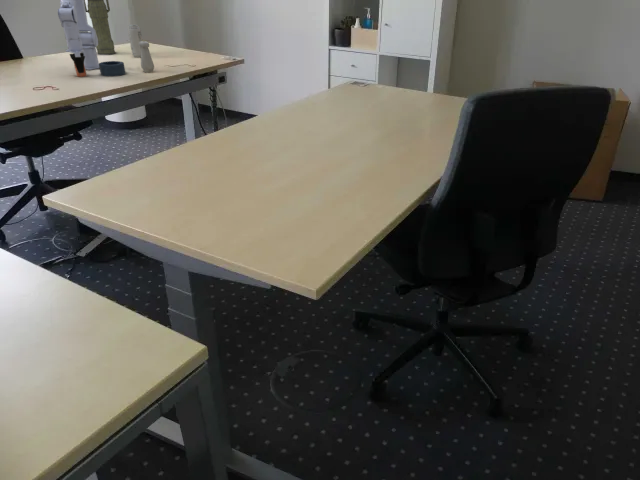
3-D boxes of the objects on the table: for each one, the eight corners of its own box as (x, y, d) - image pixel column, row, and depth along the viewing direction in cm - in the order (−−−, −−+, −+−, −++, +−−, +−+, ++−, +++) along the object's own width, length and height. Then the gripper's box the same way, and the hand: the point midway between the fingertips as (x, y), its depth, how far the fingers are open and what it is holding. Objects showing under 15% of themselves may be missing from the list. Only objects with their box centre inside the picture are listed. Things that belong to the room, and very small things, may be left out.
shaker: (74, 76, 236) (70, 59, 233) (82, 74, 239) (79, 58, 236) (80, 77, 235) (76, 60, 231) (88, 75, 238) (85, 59, 234)
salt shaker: (152, 73, 246) (147, 42, 240) (140, 72, 246) (134, 42, 240) (156, 70, 251) (152, 40, 245) (144, 70, 251) (139, 40, 245)
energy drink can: (134, 55, 283) (128, 24, 275) (146, 55, 284) (140, 24, 276) (131, 57, 278) (125, 25, 270) (143, 57, 279) (138, 26, 271)
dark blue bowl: (96, 74, 241) (93, 63, 238) (115, 70, 248) (113, 60, 246) (111, 77, 236) (109, 66, 234) (130, 73, 244) (128, 62, 242)
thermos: (120, 53, 286) (105, -21, 268) (96, 55, 280) (80, -21, 262) (116, 51, 292) (102, -22, 274) (93, 52, 286) (77, -22, 268)
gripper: (62, 36, 233) (69, 69, 240) (63, 41, 222) (71, 75, 229) (79, 36, 236) (87, 68, 243) (82, 40, 225) (89, 74, 232)
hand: (80, 71), depth 236 cm, fingers closed on shaker, 4 cm apart
